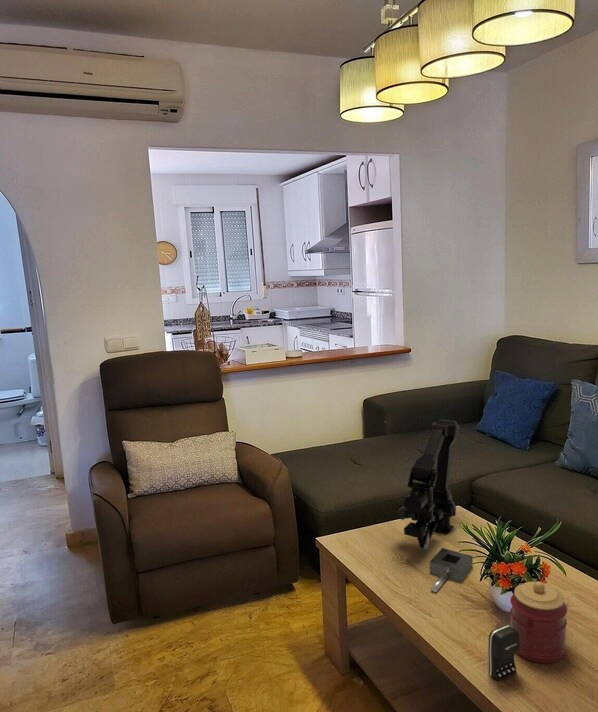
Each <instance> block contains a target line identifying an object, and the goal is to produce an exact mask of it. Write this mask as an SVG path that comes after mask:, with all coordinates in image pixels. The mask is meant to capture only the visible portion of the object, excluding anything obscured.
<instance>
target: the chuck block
mask: <svg viewBox="0 0 598 712" xmlns="http://www.w3.org/2000/svg"><path fill="white" fill-rule="evenodd" d="M473 558H474V557H473V555H470V554H466V553H462V552H458V551H455V550H451V549H447V548H444V547H441V549H440V550H438V552H437V553H436V554H435V555H434V556H433V558H431V560H430V561H429V574H430V575H433V576H437V577H439V578H438V579H437V580H436V581H435V583H433V585H432V586H431V587H430V591H431V592H432V593H435V594H436V593H437V592H438V590H439V589H440V588H441V587H442V586H443V584H444V583H445V581H447V580H450V581H453V582H457V583H460V584H461V583H462V582H463V581H464V580H465V579H466V578H467V576H468V575H469V573H470V572H471V571H472V570H473V568H474V567H473V566H474V565H471V564H472V563H473ZM473 564H474V563H473Z"/></svg>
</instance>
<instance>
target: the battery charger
mask: <svg viewBox="0 0 598 712" xmlns="http://www.w3.org/2000/svg"><path fill="white" fill-rule="evenodd" d="M519 649H520V638H519V633H518V632H517V631H516V630H515V629H513V628H512V627H511V624H510V625H509V624H504V625H500V626H499V627H496V628H495V629H493V630H491V631H490V633H489V635H488V675H489V676H490V677H491V678H493V679H495V680H497V681H502V680H504V679H506V678H509V677H511V676H513V675H515V674H516V673H517V666H516V662H515V661H516V660H515V654H517V652H518V651H519Z"/></svg>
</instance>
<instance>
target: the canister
mask: <svg viewBox="0 0 598 712" xmlns="http://www.w3.org/2000/svg"><path fill="white" fill-rule="evenodd" d="M510 604H511V606H512V607H511V608H510V626H511V627H512V628H513V629H515V630H516V631H517V632H518V633H519V638H520V649H519V651H518V652H516V654H517V655H519V656H520V657H522V658H524V659H525V660H528V661H531V662H532V663H538V664H544V665H545V664H554V663H557V662H559V661H560V660H562V659H563V658H564V656H565V654H566V650H567V642H566V635H567V633H566V632H567V625H568V621H567V617H566V616H567V614H568V606H567V604H566V603H565V598H564V596H563V594H562V593H561V592H560V591H559V590H557V589H556V588H554V587H553V586H552V585H549V584H547V583H545V582H542V581H538V580H537V581H528V582H527V581H526V582H524V583H520V584H519V585H517V586H516V587H515V588H514V591H513V594H512V595H511V597H510Z"/></svg>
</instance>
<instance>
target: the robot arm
mask: <svg viewBox="0 0 598 712" xmlns="http://www.w3.org/2000/svg"><path fill="white" fill-rule="evenodd" d="M460 425H461V424H458V422H457V421H455V420H448V419H447V420H446V419H438V421H437V422H432V425H431V427H430V434H429V437H428V439H427V442H426V445H425V447H424V450H423V452H422V455H421V456H420V457H418V458H416V460H415V462H414V465H413V466H412V467H411V469H410V475H409V477H408V481H407V482H408V483H407V488H410V489H411V491H409V494H408V495H407V496H406V497H405V498H404V501H403V506H401V507H400V508H399V509H397V510H398V511H397V517H398V518H399V519H400V520H403V521H404V520H405V519H406V520H407V519H411V521H413V522H409V523H408V524H407V525H406V526H405V527H403V534H404V535H405V536H409V537H412V538H415V539H417V542H418V544H419V545H420V547H421V548H424V546H425V544H426V541H427V538H428V535H429V541H431V538H432V537H433V534H434V533H435V532H437V533H441V534H445V535H448V534H449V533H450V532H451V531H452V530H453V529H454V527H455V526H454V525H452V524H451V518H452V517H455V516H456V515H457V514H456V513H457V506H456V504H455V502H454V501H453V494H452V491H451V490H450V488H449V486H450V485H449V484H450V476H451V464H452V463H451V462H452V453H453V446H454V444H455V443H456V442H457V440H458V439H459V435H460V432H461V426H460ZM414 521H416V522H414ZM427 527H428V528H429V531H428V530H427Z"/></svg>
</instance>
